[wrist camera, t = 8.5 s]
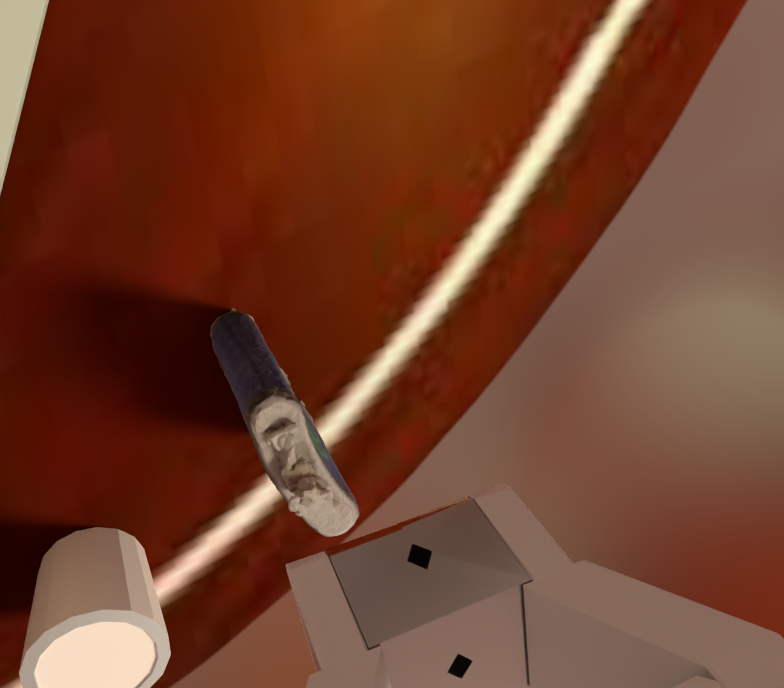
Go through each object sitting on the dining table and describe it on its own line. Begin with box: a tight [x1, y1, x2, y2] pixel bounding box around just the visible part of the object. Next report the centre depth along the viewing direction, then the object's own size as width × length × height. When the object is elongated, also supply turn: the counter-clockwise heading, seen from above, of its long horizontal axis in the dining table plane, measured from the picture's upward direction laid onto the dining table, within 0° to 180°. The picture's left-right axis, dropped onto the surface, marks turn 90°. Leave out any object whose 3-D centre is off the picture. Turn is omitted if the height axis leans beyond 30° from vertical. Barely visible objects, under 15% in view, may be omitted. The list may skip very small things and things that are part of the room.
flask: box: [210, 308, 359, 537], centre depth 36 cm, size 9×3×11 cm, turn 21°
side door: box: [0, 0, 49, 194], centre depth 25 cm, size 2×17×12 cm, turn 155°
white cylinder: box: [19, 527, 171, 688], centre depth 39 cm, size 7×7×7 cm
